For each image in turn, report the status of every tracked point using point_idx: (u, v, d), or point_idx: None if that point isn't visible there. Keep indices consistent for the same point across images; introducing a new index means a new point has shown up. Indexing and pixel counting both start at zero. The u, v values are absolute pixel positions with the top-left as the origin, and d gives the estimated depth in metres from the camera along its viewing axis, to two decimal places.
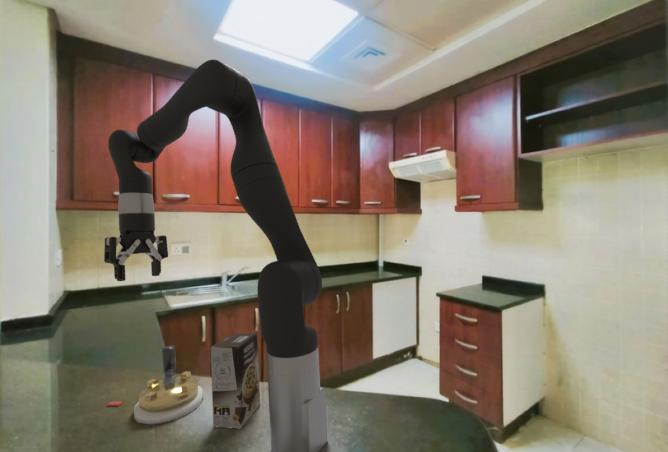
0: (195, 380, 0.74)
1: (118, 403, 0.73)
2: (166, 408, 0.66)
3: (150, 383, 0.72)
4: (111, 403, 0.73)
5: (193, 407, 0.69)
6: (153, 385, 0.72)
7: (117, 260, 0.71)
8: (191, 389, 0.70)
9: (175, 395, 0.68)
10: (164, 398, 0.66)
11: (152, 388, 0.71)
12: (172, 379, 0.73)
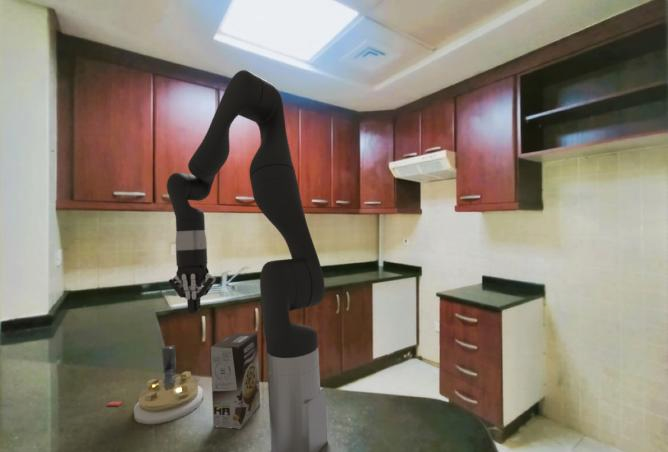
0: (195, 380, 0.74)
1: (118, 403, 0.73)
2: (166, 408, 0.66)
3: (150, 383, 0.72)
4: (111, 403, 0.73)
5: (193, 407, 0.69)
6: (153, 385, 0.72)
7: None
8: (191, 389, 0.70)
9: (175, 395, 0.68)
10: (164, 398, 0.66)
11: (152, 388, 0.71)
12: (172, 379, 0.73)
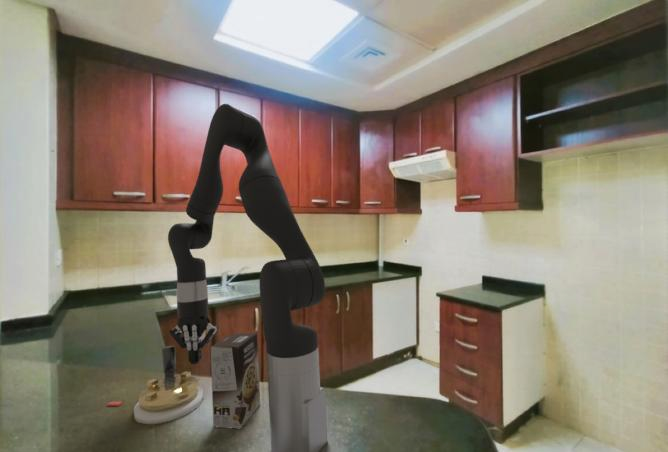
0: (195, 380, 0.74)
1: (118, 403, 0.73)
2: (166, 408, 0.66)
3: (150, 383, 0.72)
4: (111, 403, 0.73)
5: (193, 407, 0.69)
6: (153, 385, 0.72)
7: None
8: (191, 389, 0.70)
9: (175, 395, 0.68)
10: (164, 398, 0.66)
11: (152, 388, 0.71)
12: (172, 379, 0.73)
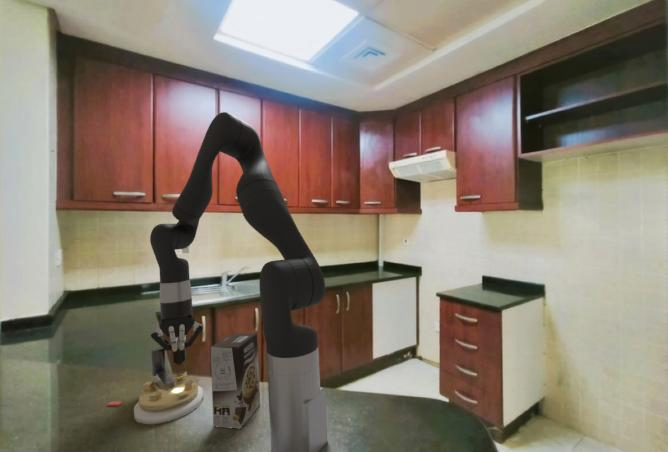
0: (194, 378, 0.75)
1: (118, 403, 0.73)
2: (173, 406, 0.66)
3: (147, 385, 0.71)
4: (111, 403, 0.73)
5: (193, 407, 0.69)
6: (151, 387, 0.71)
7: None
8: (194, 386, 0.71)
9: (180, 393, 0.68)
10: (170, 397, 0.67)
11: (151, 390, 0.71)
12: (170, 379, 0.73)
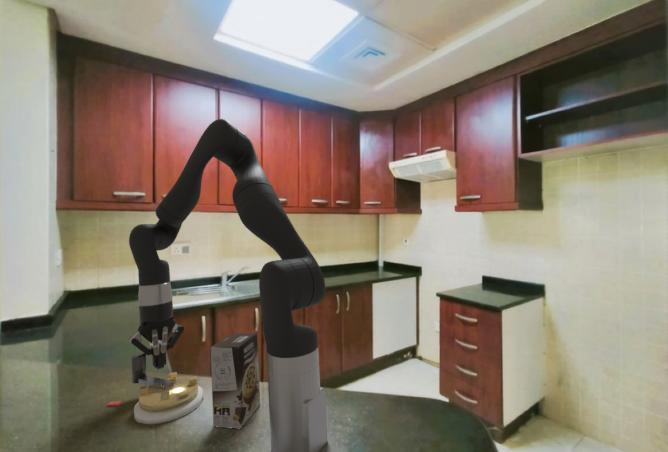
0: (188, 377, 0.77)
1: (118, 403, 0.73)
2: (185, 401, 0.68)
3: (145, 389, 0.69)
4: (111, 403, 0.73)
5: (193, 407, 0.69)
6: (148, 390, 0.70)
7: None
8: (197, 381, 0.74)
9: (188, 389, 0.70)
10: (181, 393, 0.68)
11: (150, 393, 0.69)
12: (166, 380, 0.73)
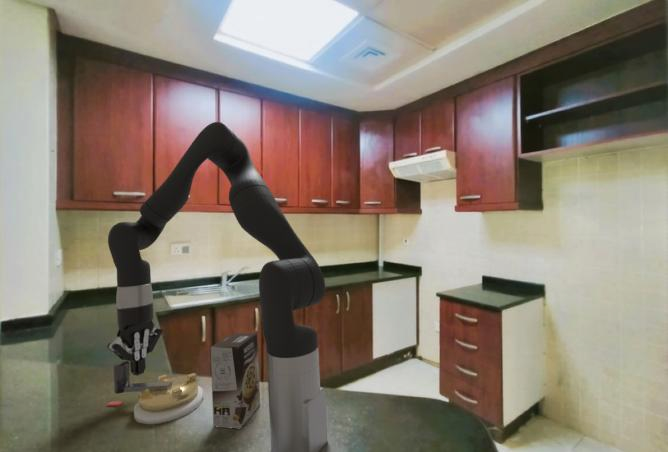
0: (179, 376, 0.77)
1: (118, 403, 0.73)
2: (194, 395, 0.71)
3: (147, 392, 0.68)
4: (111, 403, 0.73)
5: (193, 407, 0.69)
6: None
7: None
8: None
9: (192, 384, 0.72)
10: (189, 388, 0.70)
11: (152, 396, 0.68)
12: (162, 382, 0.72)
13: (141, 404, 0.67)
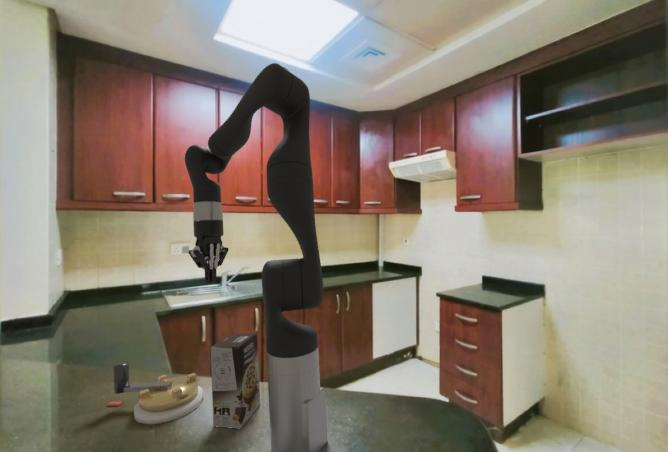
0: (179, 376, 0.77)
1: (118, 403, 0.73)
2: (194, 395, 0.71)
3: (147, 392, 0.68)
4: (111, 403, 0.73)
5: (193, 407, 0.69)
6: None
7: None
8: None
9: (192, 384, 0.72)
10: (189, 388, 0.70)
11: (152, 396, 0.68)
12: (162, 382, 0.72)
13: (141, 404, 0.66)
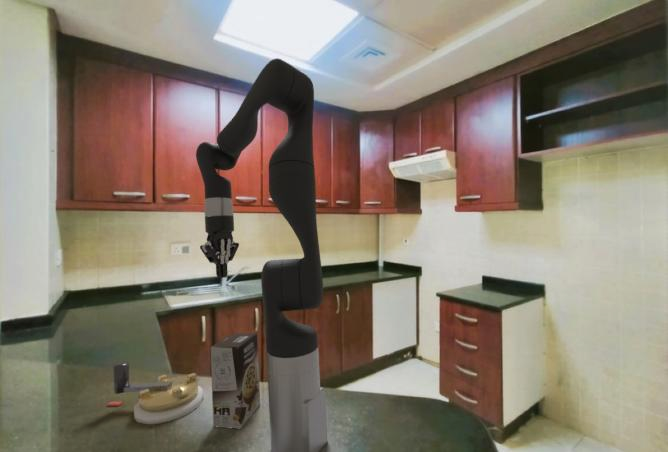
0: (179, 376, 0.77)
1: (118, 403, 0.73)
2: (194, 395, 0.71)
3: (147, 392, 0.68)
4: (111, 403, 0.73)
5: (193, 407, 0.69)
6: None
7: None
8: None
9: (192, 384, 0.72)
10: (189, 388, 0.70)
11: (152, 396, 0.68)
12: (162, 382, 0.72)
13: (141, 404, 0.66)
